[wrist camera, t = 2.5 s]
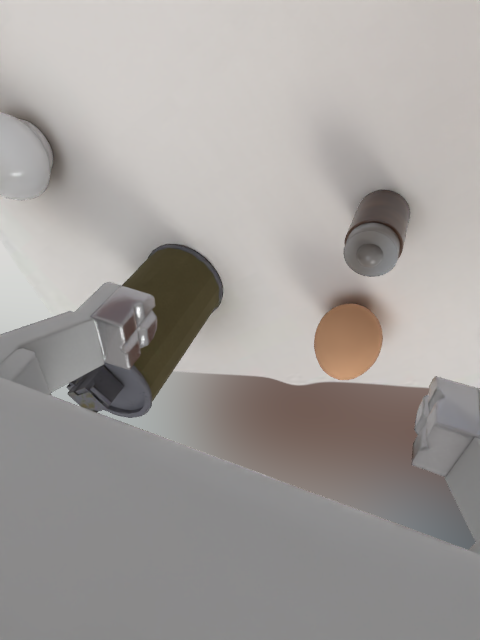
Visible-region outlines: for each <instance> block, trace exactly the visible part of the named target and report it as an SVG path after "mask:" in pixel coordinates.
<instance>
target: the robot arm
mask: <svg viewBox="0 0 480 640" xmlns="http://www.w3.org/2000/svg"><path fill="white" fill-rule="evenodd" d="M155 306H156V305H155V298H154V296H152V295H150V294H147V293H144V292H141V291H138V290H135V289H131V288H128V287H125V286H121V285H118V284H115V283H111V282H107V283H104V284H103V285H102V286H101V287H100V288H99V289H98V290H97V291H96V292H95V293H94V294H93V295H92V296H91V297H90V298H89V299H87V300H86V301H85V302H84V303H83V304H82V305H81V306H80V307H79V308H78V309H77V310H76V311H75V312H72V311H69V312H66V313H63V314H60V315H57V316H54V317H51V318H48V319H45V320H42V321H39V322H36V323H33V324H30V325H27V326H24V327H21V328H19V329H15V330H13V331H10V332H6V333H3V334H1V335H0V640H480V388H475V387H473V386H469V385H465V384H462V383H458V382H455V381H451V380H447V379H444V378H440V377H437V376H435V378H434V379H433V380H432V382H431V384H430V386H429V395H426V396H424V397H423V399H422V401H421V403H420V406H419V409H418V412H417V415H416V421H415V429H414V430H415V431H416V433H417V435H418V436H417V437H416V439H415V441H414V443H413V451H412V463H411V464H412V465H413V466H416V467H418V468H421V469H424V470H427V471H429V472H432V473H435V474H438V475H440V476H443V477H445V481H446V482H447V485H448V487H449V489H450V491H451V493H452V495H453V497H454V499H455V501H456V503H457V505H458V507H459V509H460V511H461V513H462V515H463V517H464V519H465V521H466V523H467V525H468V528H469V530H470V532H471V533H472V536H473V538H474V540H475V542H476V543H475V544H474V545H473V546H472V547H471V548H470V549H468V550H466V549H464V548H461V547H458V546H456V545H453V544H450V543H448V542H445V541H442V540H440V539H437V538H434V537H432V536H429V535H426V534H423V533H420V532H418V531H415V530H413V529H410V528H407V527H404V526H402V525H399V524H396V523H394V522H391V521H388V520H386V519H383V518H380V517H378V516H375V515H372V514H369V513H367V512H364V511H361V510H359V509H356V508H353V507H350V506H348V505H345V504H342V503H340V502H337V501H334V500H332V499H329V498H326V497H323V496H320V495H318V494H315V493H313V492H310V491H307V490H304V489H302V488H299V487H296V486H293V485H291V484H288V483H285V482H283V481H280V480H277V479H275V478H272V477H269V476H266V475H264V474H261V473H258V472H256V471H253V470H250V469H247V468H245V467H242V466H239V465H237V464H234V463H231V462H229V461H226V460H223V459H221V458H218V457H215V456H212V455H210V454H207V453H204V452H202V451H199V450H196V449H194V448H191V447H188V446H186V445H183V444H180V443H177V442H175V441H172V440H169V439H166V438H164V437H161V436H159V435H156V434H153V433H150V432H148V431H145V430H143V429H140V428H137V427H134V426H132V425H129V424H126V423H123V422H121V421H118V420H115V419H113V418H110V417H107V416H105V415H102V414H99V413H97V412H94V411H91V410H88V409H86V408H83V407H80V406H77V405H75V404H72V403H70V402H67V401H64V400H61V399H59V398H56V397H53V396H52V395H51V393H52V392H53V391H55V390H57V389H59V388H61V387H63V386H65V385H66V384H68V383H70V382H72V381H74V380H76V379H78V378H79V377H81V376H83V375H85V374H87V373H89V372H90V371H92V370H94V369H96V368H98V367H100V366H102V365H103V364H105V363H108V364H112V365H115V366H118V367H121V368H125V369H128V370H130V368H131V367H132V366H133V365H134V363H135V362H136V361H137V359H138V358H139V357H140V355H141V352H140V348H143V347H145V346H147V345H149V344H150V342H151V341H152V339H153V338H154V335H155V333H156V330H157V316H156V315H155V313H154V312H153V311H152V309H153V308H154V307H155ZM104 362H105V363H104Z"/></svg>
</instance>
